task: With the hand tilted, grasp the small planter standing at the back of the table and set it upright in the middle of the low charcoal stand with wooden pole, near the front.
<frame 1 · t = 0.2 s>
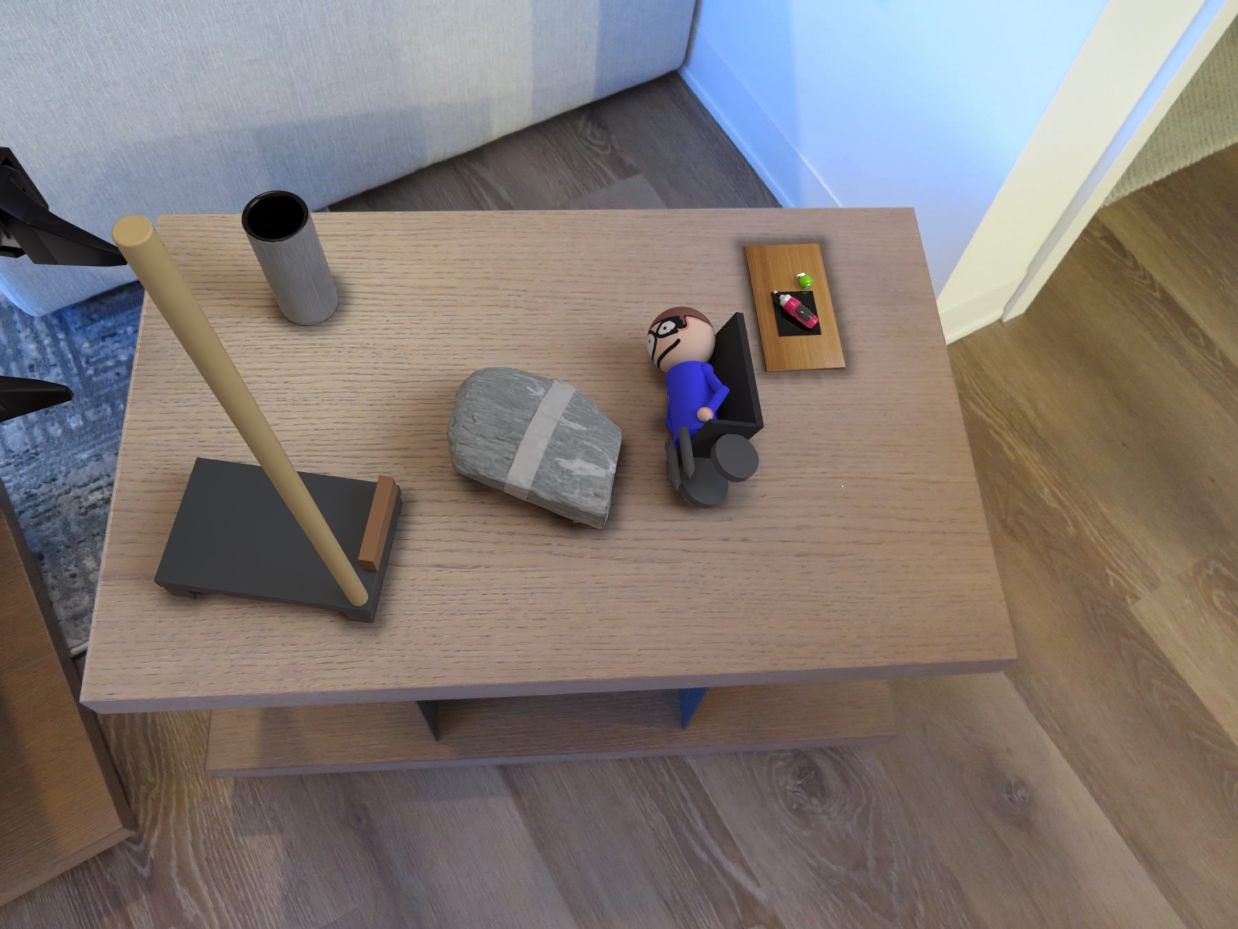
hand: (99, 322, 54), 16 cm above the table, tool horizontal, fingers open, 9 cm apart
character figurine: (694, 425, 72), on the table
planter: (310, 303, 75), on the table
decorative stone: (540, 464, 70), on the table
board: (793, 307, 78), on the table
stand with wooden pole: (291, 547, 66), on the table
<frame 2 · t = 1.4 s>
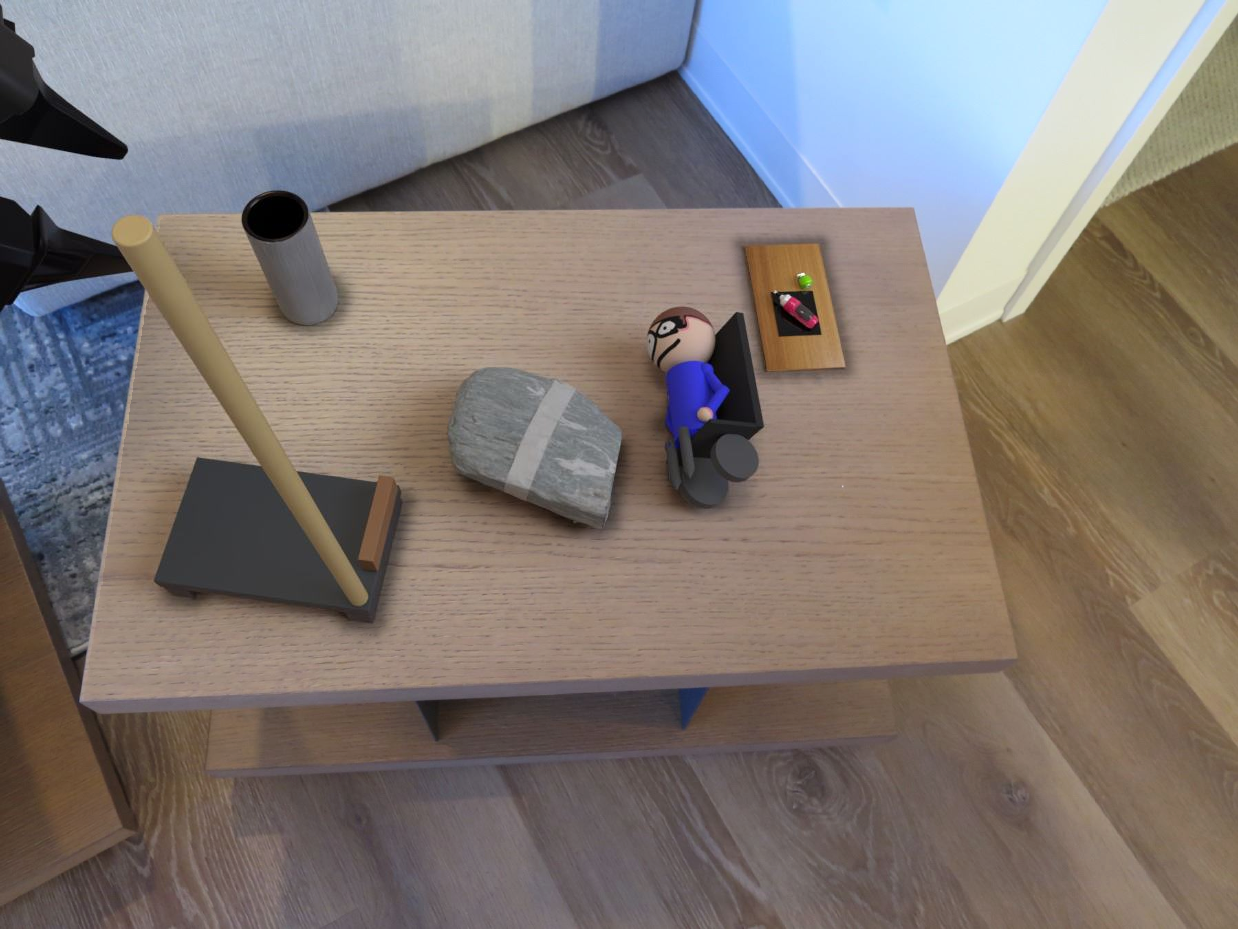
hand: (133, 207, 61), 14 cm above the table, tool tilted 45°, fingers open, 9 cm apart
nothing on the table moved.
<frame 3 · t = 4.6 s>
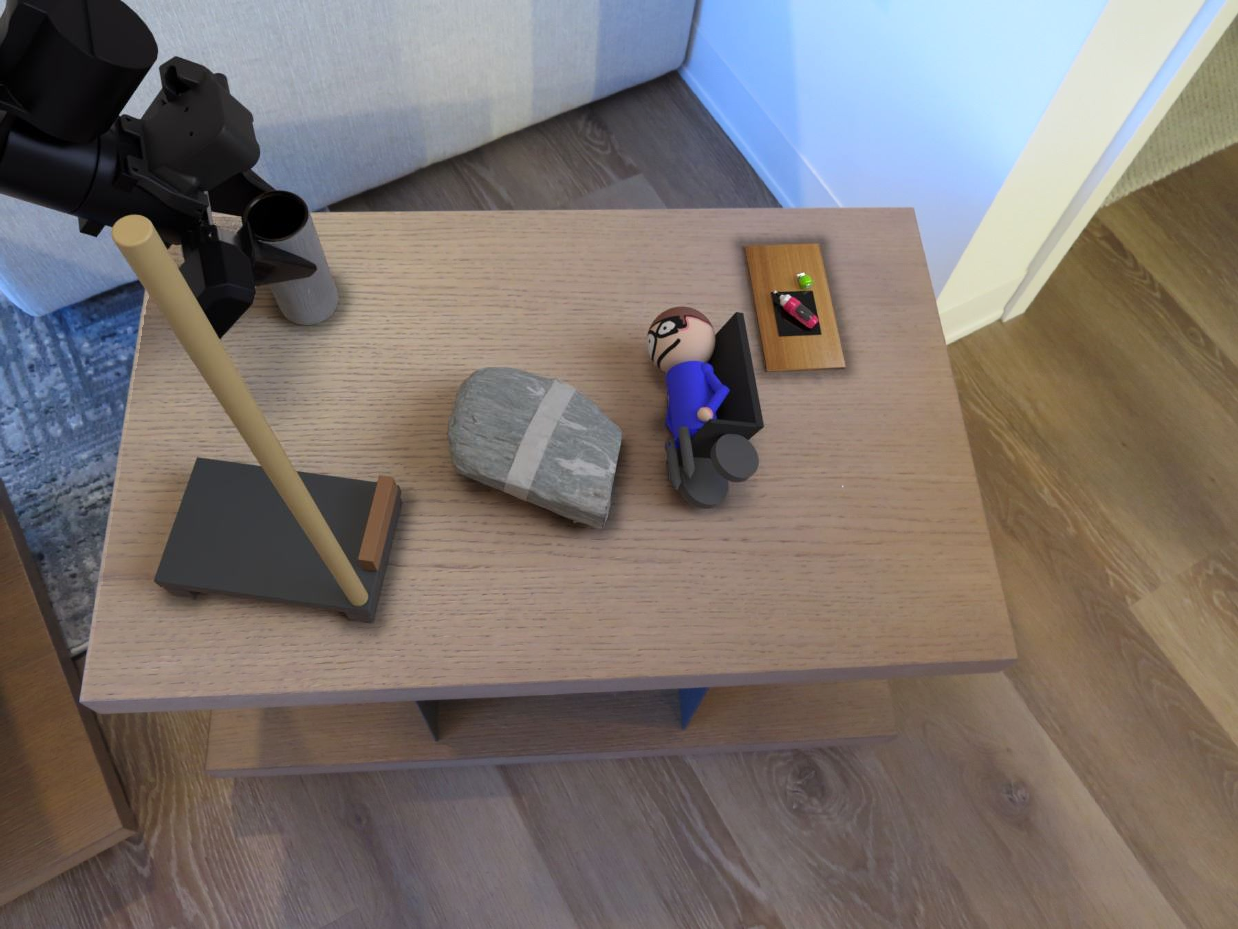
hand: (307, 245, 69), 7 cm above the table, tool tilted 45°, fingers closed on planter, 4 cm apart
planter: (310, 303, 75), on the table, touching gripper
everything else where it was.
when the fingers open (10 cm above the table, at t = 10.8 s): planter stays where it is, resting on stand with wooden pole.
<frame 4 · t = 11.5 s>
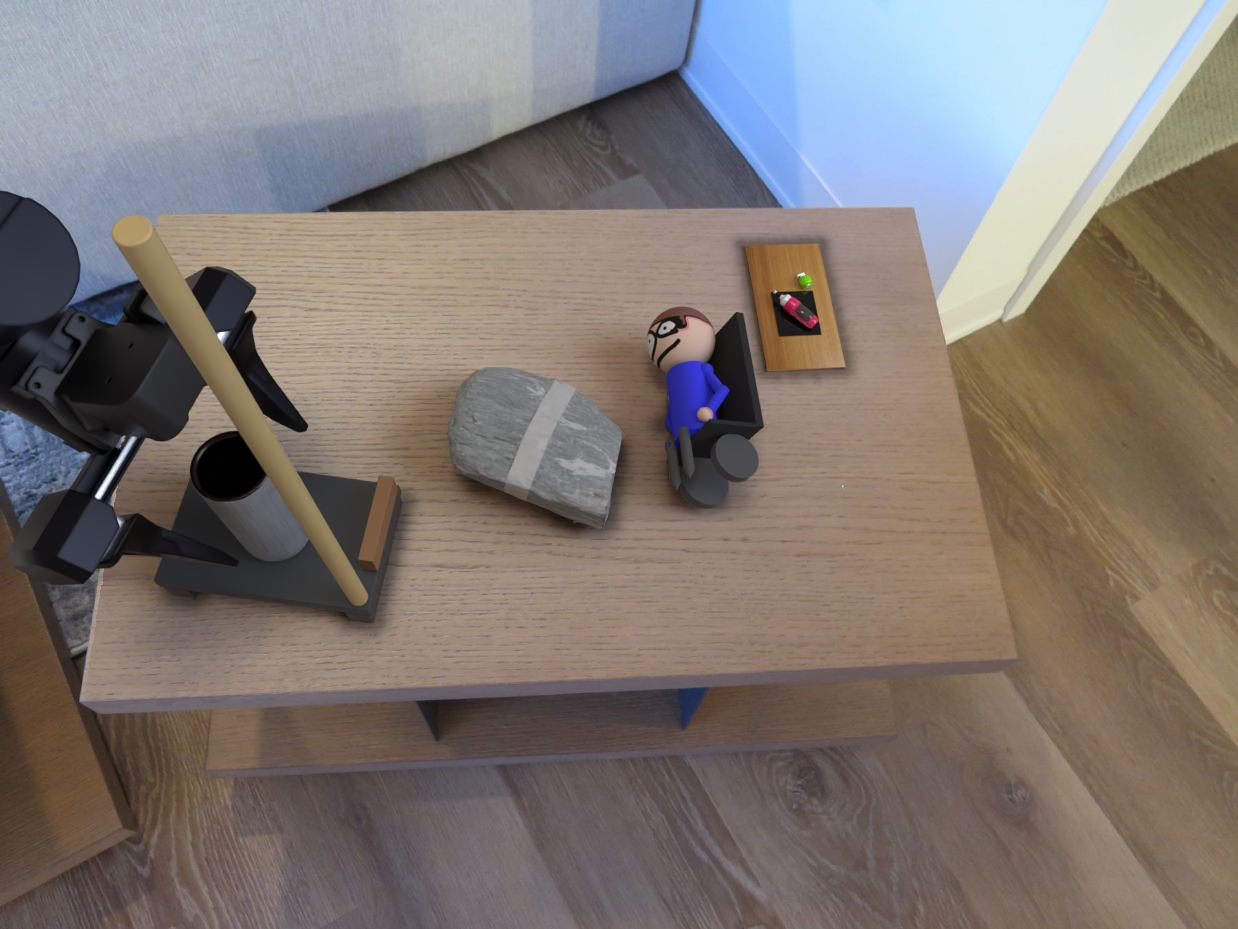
hand: (271, 494, 57), 10 cm above the table, tool tilted 45°, fingers open, 9 cm apart
planter: (278, 531, 64), point 3 cm above the table, touching stand with wooden pole
everything else where it was.
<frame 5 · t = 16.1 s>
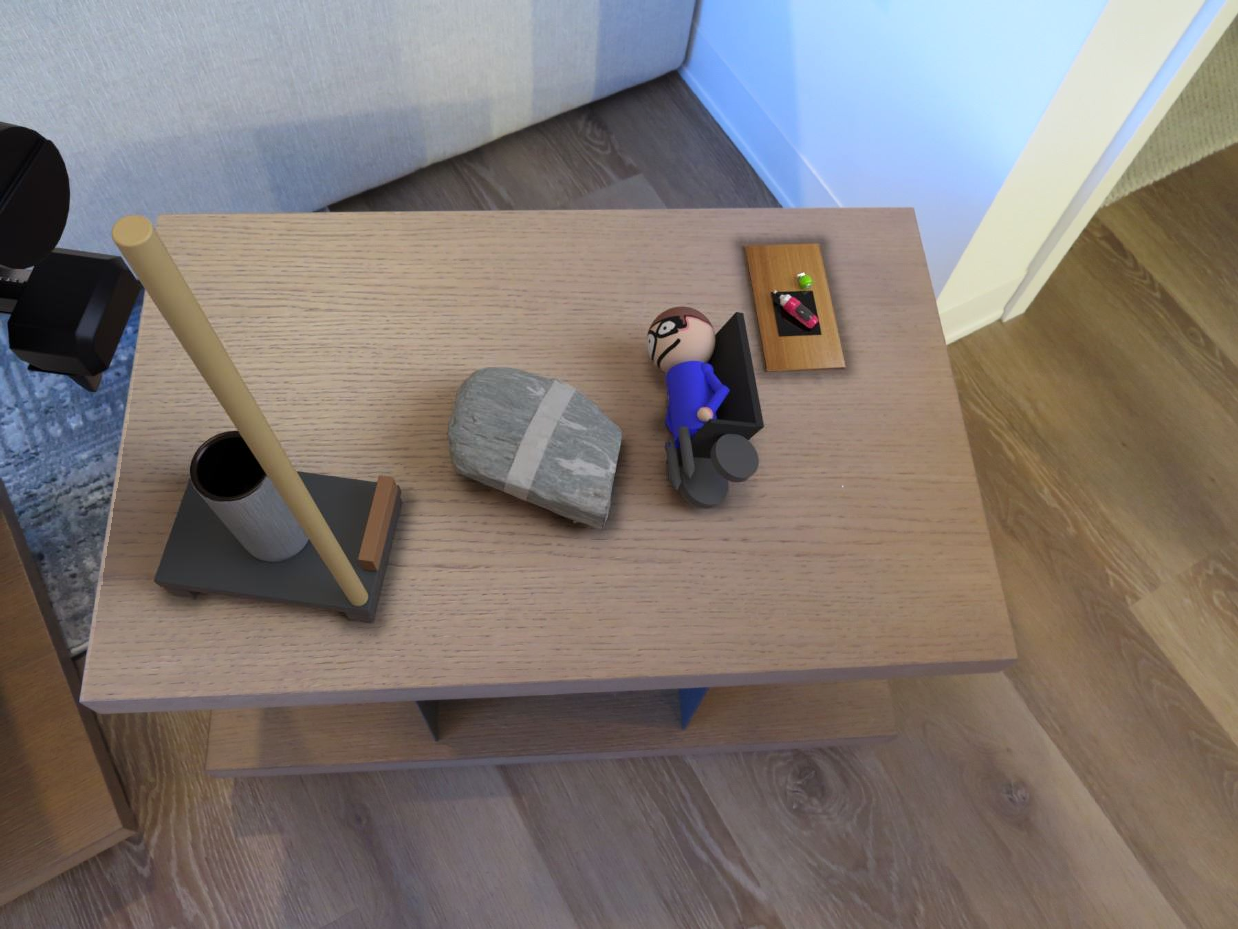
hand: (18, 374, 56), 13 cm above the table, tool pointing down, fingers open, 9 cm apart
nothing on the table moved.
at the end: planter inside the target area on the stand with wooden pole (0.2 cm from its centre), point 2.8 cm above the stand with wooden pole's base; planter tilted 0°; the gripper is holding nothing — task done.
